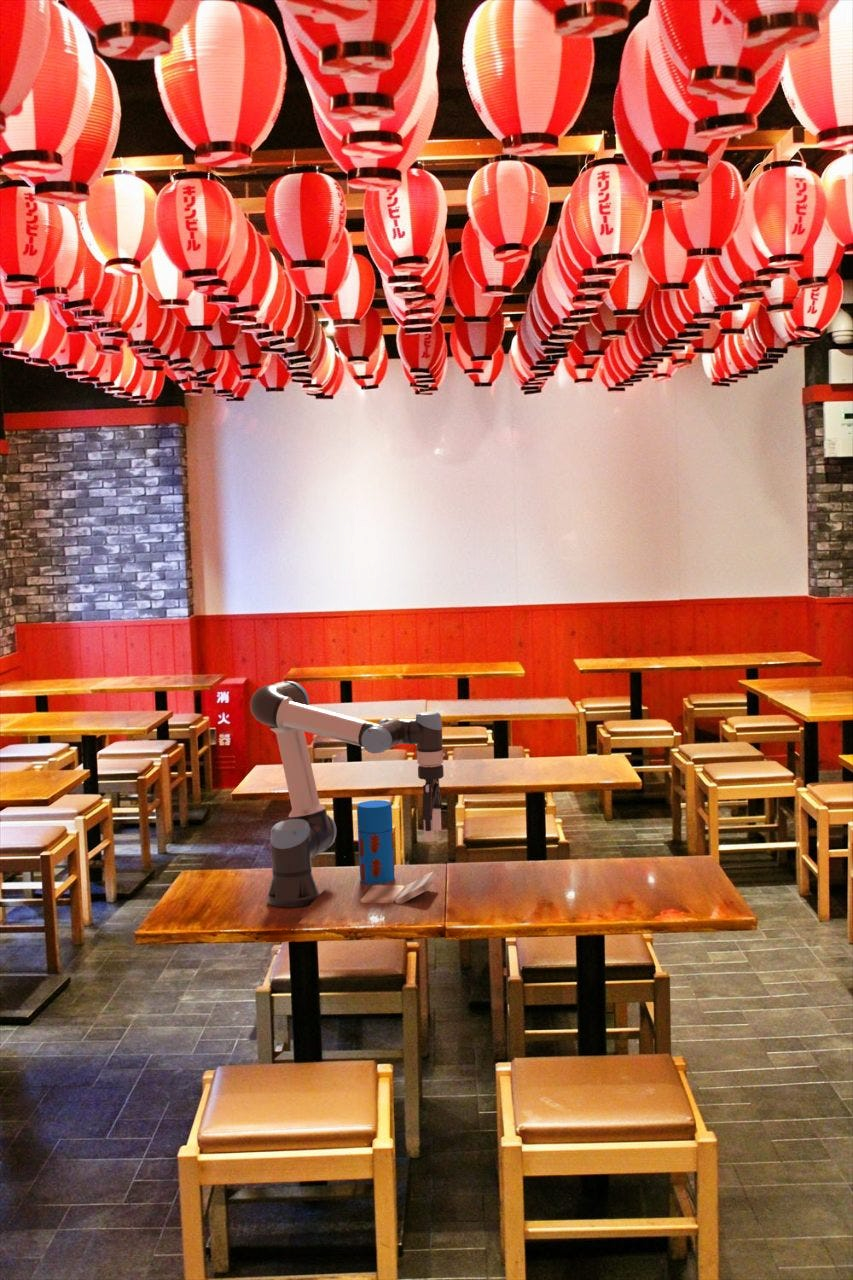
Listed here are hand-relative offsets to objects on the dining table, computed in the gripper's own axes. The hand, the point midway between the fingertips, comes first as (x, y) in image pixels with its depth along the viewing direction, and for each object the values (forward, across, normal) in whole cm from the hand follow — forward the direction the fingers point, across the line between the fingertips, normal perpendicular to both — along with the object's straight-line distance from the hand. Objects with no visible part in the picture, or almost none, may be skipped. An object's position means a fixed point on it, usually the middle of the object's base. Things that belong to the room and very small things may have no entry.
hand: (433, 835), depth 352 cm
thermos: (+19, +15, +21) cm, 32 cm away
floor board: (+19, -3, +10) cm, 21 cm away
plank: (+16, -3, +5) cm, 17 cm away
